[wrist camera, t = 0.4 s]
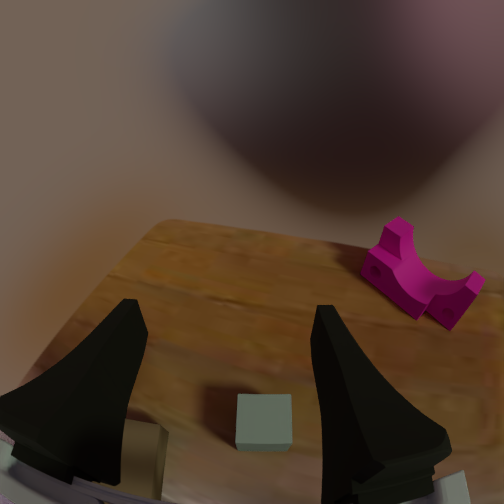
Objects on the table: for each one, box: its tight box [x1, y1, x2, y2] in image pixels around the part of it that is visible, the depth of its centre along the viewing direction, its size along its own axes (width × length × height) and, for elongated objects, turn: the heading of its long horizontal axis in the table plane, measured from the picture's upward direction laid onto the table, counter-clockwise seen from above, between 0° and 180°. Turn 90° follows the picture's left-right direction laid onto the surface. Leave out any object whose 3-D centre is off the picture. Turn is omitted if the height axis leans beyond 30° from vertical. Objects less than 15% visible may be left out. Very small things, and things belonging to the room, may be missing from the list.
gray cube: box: [235, 394, 292, 451], centre depth 23 cm, size 4×4×4 cm
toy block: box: [360, 216, 485, 331], centre depth 34 cm, size 15×6×8 cm, turn 36°
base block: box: [92, 419, 169, 504], centre depth 20 cm, size 10×10×3 cm
